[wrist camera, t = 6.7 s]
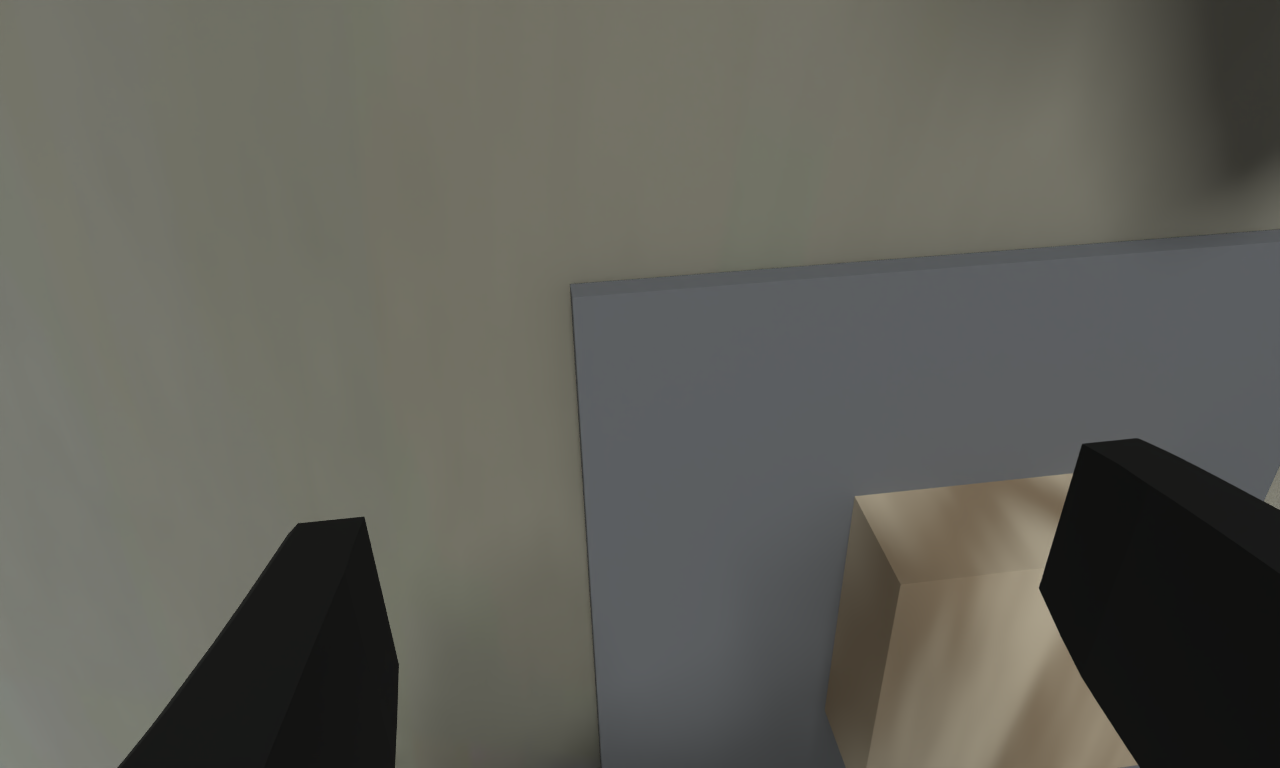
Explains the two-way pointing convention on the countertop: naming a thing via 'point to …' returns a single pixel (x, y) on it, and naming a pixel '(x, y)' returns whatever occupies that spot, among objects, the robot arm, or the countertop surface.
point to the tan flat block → (959, 636)
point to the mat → (867, 446)
